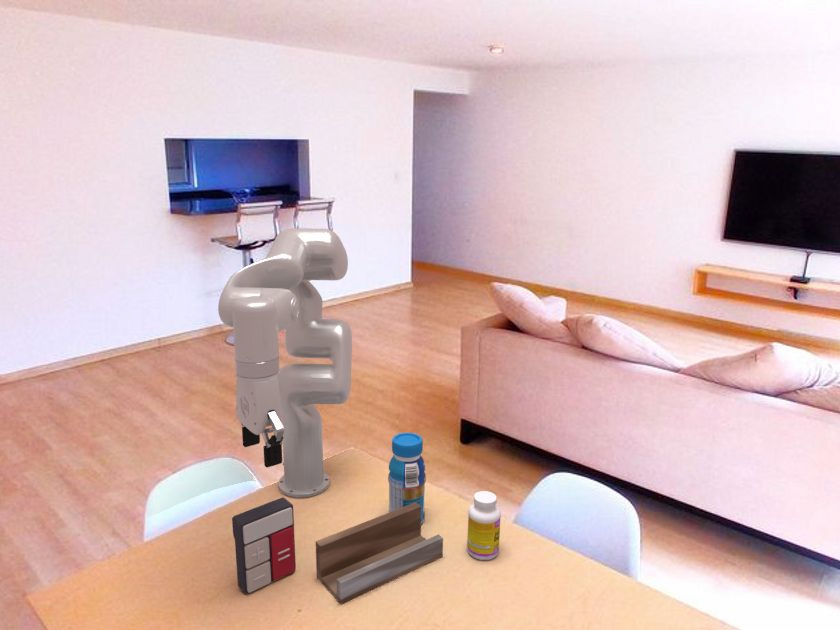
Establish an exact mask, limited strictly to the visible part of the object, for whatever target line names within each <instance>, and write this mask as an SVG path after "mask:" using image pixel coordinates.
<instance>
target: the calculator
mask: <svg viewBox="0 0 840 630" xmlns="http://www.w3.org/2000/svg"><path fill="white" fill-rule="evenodd" d="M294 519H295V518H294V505H293V504H292V503H291V502H290V501H289V500H287V498H285V497H283V496H282V497H279V498H277V499H274V500H272V501H269V502H267V503H264V504H261V505H259V506H257V507H253V508H251V509H249V510H245V511H244V512H241V513H238V514H236V515H233V516H232V518H231V521H232V523H231V525H232V536H233V539H234V546H235V549H234V550H235V560H236V561H235V563H236V575H237V577H236V578H237V587H238V588H239V590H241V591H242V592H243V594H245V595H248V594H249V593H252V592H254V591H256V590H259V589H261V588H263V587H265V586H267V585H269V584H270V583H273V582H276V581H278V580H279V579H281V578H283V577H286V576H288V575H290V574H292V573H294V572H296V569H297V568H296V567H297V565H296V547H295V546H296V543H295V540H296V539H295V521H294Z"/></svg>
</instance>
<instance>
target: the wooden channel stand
mask: <svg viewBox="0 0 840 630" xmlns="http://www.w3.org/2000/svg"><path fill="white" fill-rule="evenodd" d="M443 551H444V537H443V536H441V535H440V534H436V535H434V536H432V537H430V538H427V539H426V537H424V536H422V523H421V506H420V505H419V504H417V503H416V502H415V503H412V504H410V505H407V506H405V507H402V508H400V509H397V510H394V511H392V512H389V511H388V512H386V513H384V514H382V515H379V516H377V517H374V518H372V519H369V520H367V521H363V522H361V523H359V524H357V525H353V526H351V527H349V528H346V529H343V530H341V531H338V532H336V533H333V534H331V535H328V536H325V537H322V538H320V539H318V540H316V541H315V562H316V563H315V567H316V569H315V570H316V578H317V579H318V580H319V581H320V582H321V584H322V585H323V586H324V587H325V588H326V589H327V590H328V591H329V593H330V594H331V595H332V596H333V597H334V599H336V600H337V601H338V603H339V604H340V605H343V604H345V603H348V602H349V601H351V600H354V599H355V598H358V597H360V596H362V595H364V594H366V593H368V592H369V593H370V592H371V591H373V590H374V589H375V590H376V588H377V589H378V588H379V587H381V586H383V585H386V584H388V583H390V582H392V581H394V580H397V579H398V578H400V577H401V578H402V576H405V575H407V574H409V573H411V572H414V571H416V570H417V569H420V568H423V567H424V566H426V565H429V564H431V563H433V562H435V561H437V560H439V559H441V558H443V553H444V552H443Z"/></svg>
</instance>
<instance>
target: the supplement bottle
mask: <svg viewBox="0 0 840 630" xmlns="http://www.w3.org/2000/svg"><path fill="white" fill-rule="evenodd" d="M497 501H498V500H497V495H496V494H495V493H494V492H491V491H487V490H481V491H477V492H475V493H474V496H473V503H472V505H470V506H469V508H468V514H467V515H468V517H467V519H468V520H467V540H466V551H467V553H468V554H469V555H470V556H471V557H472V558H474V559H476V560H479V561H489V560H492V559H495V558H496V557H497V556H498V554H499V550H500V531H501V517H502V516H501V510H500V508H499V507H498V505H497V504H498V502H497Z"/></svg>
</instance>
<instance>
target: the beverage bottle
mask: <svg viewBox="0 0 840 630" xmlns="http://www.w3.org/2000/svg"><path fill="white" fill-rule="evenodd" d="M423 441H424V440H423V438H422V436H421V435H420V434H417V433H415V432H401V433H397V434H396V435H394V436H393V438H392V440H391V450H392V451H391V452H392V454H393V455H392V457H391V458H390V461H389V464H388V471H389V472H388V476H387V481H388V483H389V484H388V486H389V487H388V489H389V490H388V491H389V492H388V500H389V501H388V503H389V504H388V507H389V509H388V513H389V512H392V511H394V510H397V509H400V508H402V507H405V506H407V505H410V504H412V503H415V502H416V503H417V504H419V505H420V506H421V524H422V523H423V522H424V521H425V517H426V515H425V513H426V512H425V489H426V486H425V485H426V482H427V475H426V472H425V471H426V467H427V466H426V462H425V459H424V458H423V456H422V453H423V451H424V450H423V448H424V447H423V445H424V444H423V443H424V442H423Z"/></svg>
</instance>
